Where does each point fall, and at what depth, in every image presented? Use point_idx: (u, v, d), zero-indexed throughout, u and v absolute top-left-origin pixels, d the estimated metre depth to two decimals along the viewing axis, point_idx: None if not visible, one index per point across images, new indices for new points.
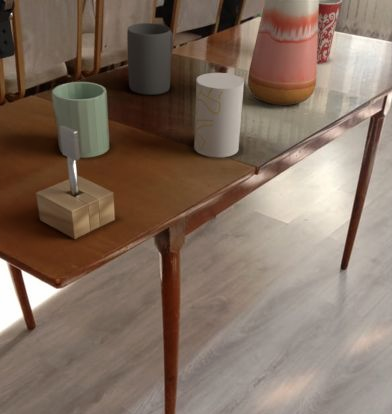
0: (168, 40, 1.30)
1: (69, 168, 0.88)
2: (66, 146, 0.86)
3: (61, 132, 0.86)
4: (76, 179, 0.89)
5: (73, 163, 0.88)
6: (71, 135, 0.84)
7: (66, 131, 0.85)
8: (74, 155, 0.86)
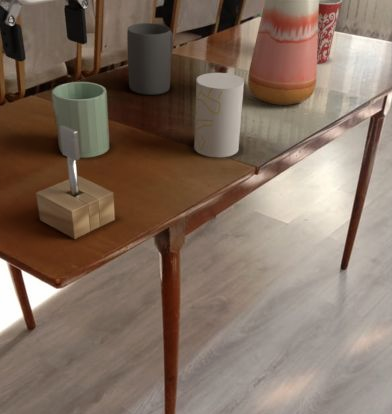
0: (168, 40, 1.30)
1: (69, 168, 0.88)
2: (66, 146, 0.86)
3: (61, 132, 0.86)
4: (76, 179, 0.89)
5: (73, 163, 0.88)
6: (71, 135, 0.84)
7: (66, 131, 0.85)
8: (74, 155, 0.86)
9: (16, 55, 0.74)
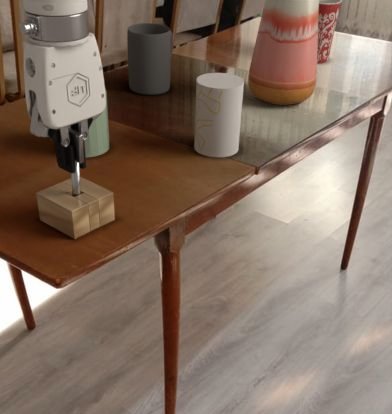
0: (168, 40, 1.30)
1: None
2: None
3: None
4: (78, 181, 0.89)
5: (77, 165, 0.87)
6: (76, 138, 0.84)
7: (71, 133, 0.84)
8: (78, 158, 0.86)
9: (68, 168, 0.87)
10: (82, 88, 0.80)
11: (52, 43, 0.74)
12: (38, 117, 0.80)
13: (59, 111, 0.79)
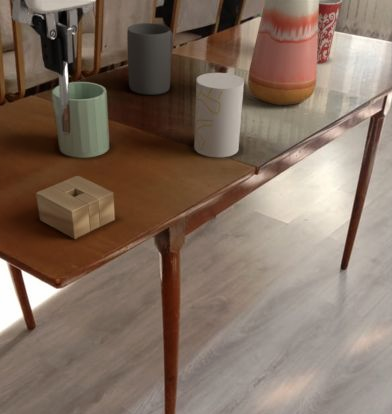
0: (168, 40, 1.30)
1: None
2: None
3: None
4: (67, 86, 0.80)
5: (65, 67, 0.79)
6: (64, 32, 0.75)
7: (58, 27, 0.76)
8: (66, 56, 0.77)
9: (55, 67, 0.78)
10: None
11: None
12: None
13: None
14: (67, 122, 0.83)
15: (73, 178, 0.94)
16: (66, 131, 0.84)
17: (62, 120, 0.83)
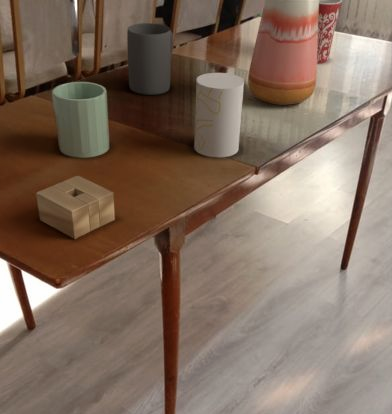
0: (168, 40, 1.30)
1: None
2: None
3: None
4: (76, 11, 0.95)
5: None
6: None
7: None
8: None
9: None
10: None
11: None
12: None
13: None
14: (77, 43, 0.98)
15: (73, 178, 0.94)
16: (76, 52, 0.99)
17: (72, 42, 0.98)
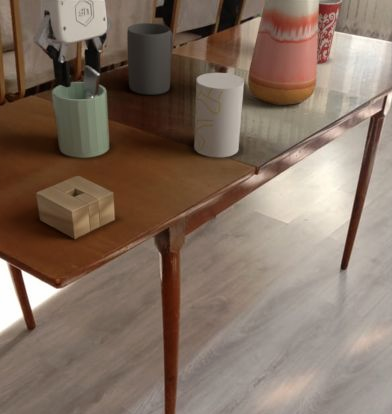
0: (168, 40, 1.30)
1: None
2: (88, 83, 1.04)
3: (85, 71, 1.03)
4: None
5: None
6: (94, 76, 1.02)
7: (90, 71, 1.02)
8: (93, 92, 1.04)
9: (64, 83, 1.03)
10: (87, 10, 0.98)
11: None
12: (45, 28, 0.96)
13: (68, 28, 0.97)
14: None
15: (73, 178, 0.94)
16: None
17: None
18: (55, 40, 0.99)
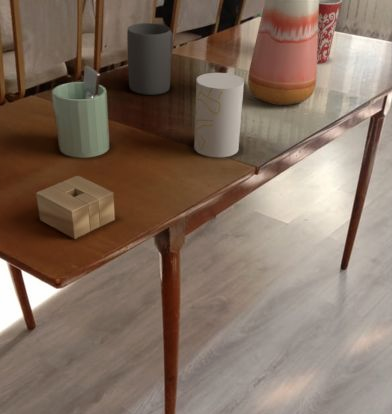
0: (168, 40, 1.30)
1: None
2: (88, 83, 1.04)
3: (85, 71, 1.03)
4: None
5: None
6: (94, 76, 1.02)
7: (90, 71, 1.02)
8: (93, 92, 1.04)
9: None
10: None
11: None
12: None
13: None
14: None
15: (73, 178, 0.94)
16: None
17: None
18: None
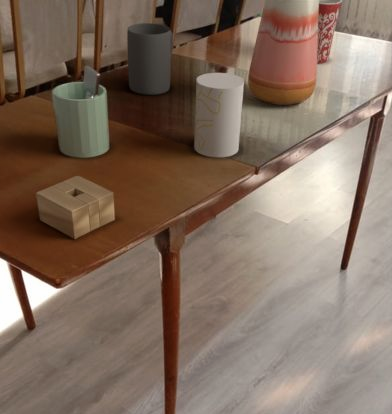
0: (168, 40, 1.30)
1: None
2: (88, 83, 1.04)
3: (85, 71, 1.03)
4: None
5: None
6: (94, 76, 1.02)
7: (90, 71, 1.02)
8: (93, 92, 1.04)
9: None
10: None
11: None
12: None
13: None
14: None
15: (73, 178, 0.94)
16: None
17: None
18: None
